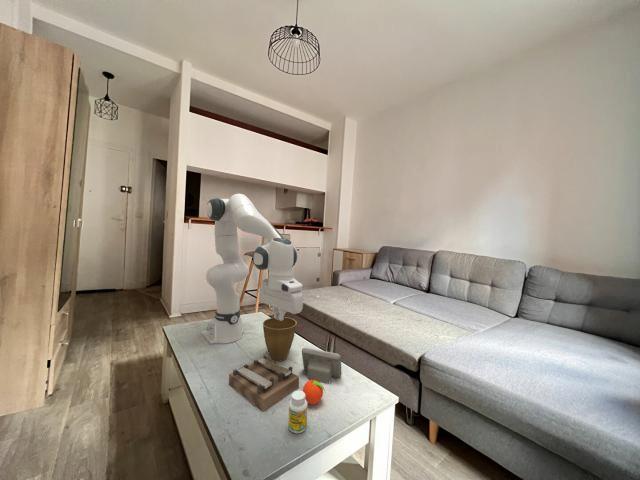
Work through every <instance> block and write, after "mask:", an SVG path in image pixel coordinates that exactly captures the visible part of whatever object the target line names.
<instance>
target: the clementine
mask: <svg viewBox="0 0 640 480" xmlns="http://www.w3.org/2000/svg"><path fill="white" fill-rule="evenodd" d="M302 391H303V392H304V393H305V400H306V401H307V404H311V405H315V404H317V403H319V402H320V401H321V400H322V398H323V395H324V392H325V393H326V390H325V388H324V386H323V385H322V384H321V382H319V381H316V380H311V379H309V380H308V381H307V382H306V383H305V384H304V385H303V388H302Z"/></svg>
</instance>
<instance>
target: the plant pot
mask: <svg viewBox="0 0 640 480" xmlns="http://www.w3.org/2000/svg"><path fill="white" fill-rule="evenodd" d="M262 329H263V336H264V337H263V338H264V343H265V347H266V350H267V353H268V356H269V360H270V361H272V362H274V363H280V362H284V361H286V359H287V357H288V356H289V353H290V351H291V348H292V345H293V341H294V337H295V333H296V330H297V320H295V319H294V318H291V317H286V316H284V320H282V321H280V320H278V319H275V318H274V317H269V318H266V319H265V320H264V321H263V322H262Z"/></svg>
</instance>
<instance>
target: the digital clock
mask: <svg viewBox="0 0 640 480" xmlns="http://www.w3.org/2000/svg"><path fill="white" fill-rule="evenodd" d="M301 356H302V366H303V369H304V371H306V372H307V373H306V374H307V376H306V379H307V380H316V381H318V382H319V383H325V384H330V383H329V382H331V380H332V378H333V377H334V378H340V377H341V376H342V375H343V373H342V356H341V355H340V354H339V353H335V352H330V351H326V350H320V349H316V348H310V347H304V348H303V347H302V349H301Z"/></svg>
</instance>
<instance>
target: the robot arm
mask: <svg viewBox="0 0 640 480" xmlns="http://www.w3.org/2000/svg"><path fill="white" fill-rule="evenodd" d="M206 215H207V217H208V218H209V220H211V221H214V247H215V252H216V254H217V255H219V256H220V258H221V259H222V262H223V263H221V264H216V265H214V266H212V267H211V268H209V269H208V270H207V271H206V273H205V274H206V276H205V278H206V282H207V283H208V285H209V286H211V287H212V288H213V290H214V292H215V297H216V310H215V311H214V312H213V313H214V317H213V318H212V319H211V320H210V321H208V322H207V326H206V329H204V330H203V331H202V333H201V334H202V335H203V337H204V338H205V340H207V342H208V343H209V344H211V345H212V344H229V343H234V342H237V341H239V340H240V339H242V338H243V337H242V336H243V334H244V331H245V330H244V329H243V322H242V317H241V309H240V306H241V305H240V301H241V300H240V299H241V296H240V294H239V293H238V292H237V291H236V289H235V283H239V282H242V281H243V280H245V279H246V278H248V276H249V274H250V269H249V266H248V264H247V262H244V260H243V257H242V255H241V252H240V248H239V246H240V245H239V239H238V229H239V230H241V232H244V233H248V234H251V235H256V236H260V237H262V238H264V239H266V240H267V241H268V243H267V244H264V245H260V246H258V247H257V248H256V249H255V250H254V252H253V254H252V263H253V266H254V267H256V269H257V270H260V271H268V278H264V279H263V280H262V282H261V285H260V289H259V297H258V299H259V302H260V303H263V304H265V305H267V306H271V310H272V312H273V318H275V319H278V320H280V321H282V320H284V317H285V315H286V313H291V314H293V315H297V314H300V313H301V312H302V311H303V308H304V295H303V292H302V291H303V289H304V288H303V287H304V286H303V283H301V282H299V281H298V280H297V279H296V278H295V277H294V272H293V267H294V266H295V265H296V263H297V260H298V252H297V250H296V249H295V247H294V245H293V242H292V241H291V240H290V239H287V238H284V236H283V235H282V234H281V233H280V232H279V231H278V230H277V228H276V227H275V226H274V224H272V223H271V222H270V221H269V220H267V219H266V218H265V217H264V216H263V215H262V214H261V213H260V212H259V211H258V210H257V208H256V206H255V205H254V204H253V202H252V201H251V200H250V199H249V197H247V196H246V194H244V193H235V194H233V195H231V196H230V197H229V198H211V199H210V200H208V202H207V205H206Z"/></svg>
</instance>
